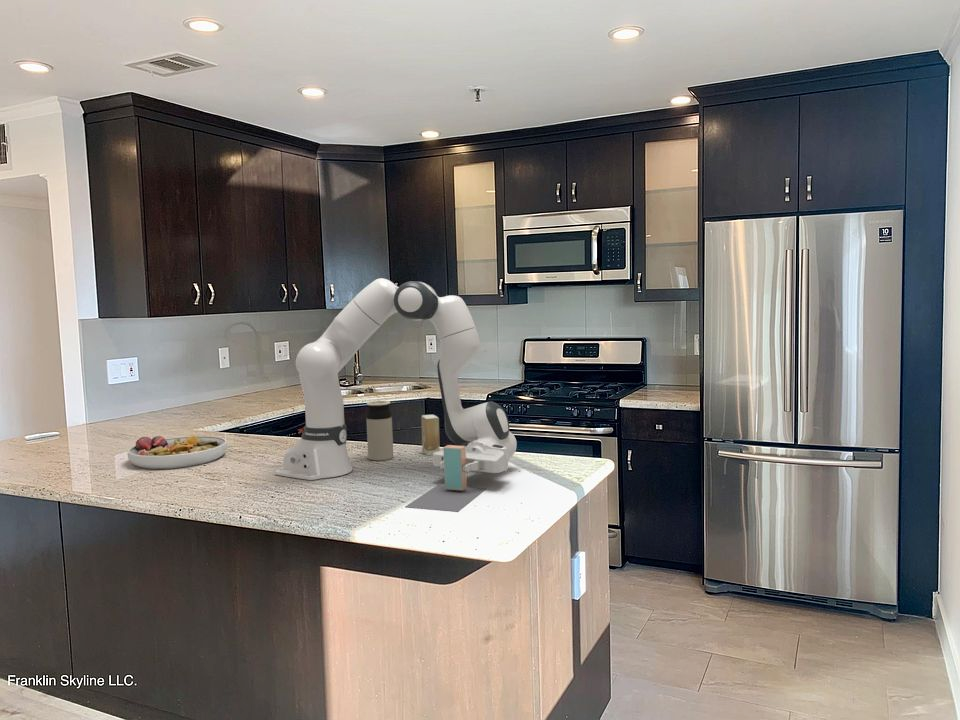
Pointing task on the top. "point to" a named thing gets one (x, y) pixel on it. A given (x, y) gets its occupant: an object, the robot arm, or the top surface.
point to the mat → (445, 499)
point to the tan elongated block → (454, 467)
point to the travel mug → (379, 430)
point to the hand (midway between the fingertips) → (453, 467)
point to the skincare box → (430, 434)
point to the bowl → (176, 451)
